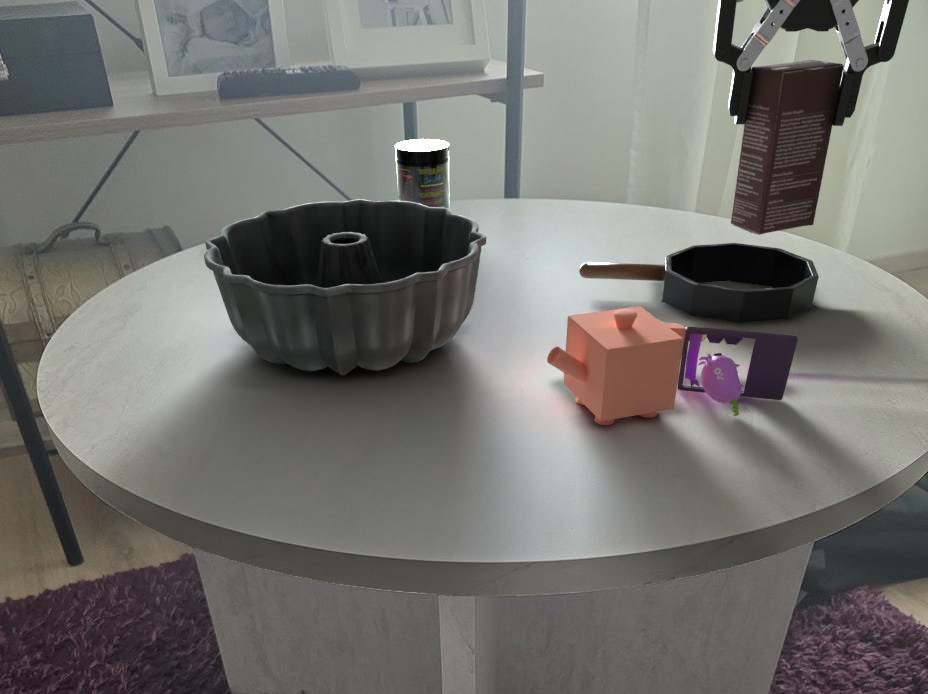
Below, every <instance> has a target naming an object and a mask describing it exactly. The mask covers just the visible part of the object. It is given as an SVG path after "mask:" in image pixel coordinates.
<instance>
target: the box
mask: <svg viewBox="0 0 928 694" xmlns="http://www.w3.org/2000/svg"><path fill="white" fill-rule="evenodd" d="M751 69H752V72H753V76H752V82H751V88H750V94H749V100H748V106H747V113H746V119H745V123H744V124H743V131H742V139H741V144H740V145H741V146H740V152H739V158H738V159H739V160H738V165H737V174H736V182H735V189H734V196H733V203H732V210H731V217H730V218H731V219H730V224H731V225H732V226H734V227H737V228H739V229H741V230H743V231H746V232H748V233H750V234H754V235H758V236H761V235H764V234H769V233H773V232H780V231H784V230H790V229H795V228H801V227H807V226H813V225H814V222H815V217H816V212H817V206H818V202H819V197H820V192H821V188H822V187H821V186H822V180H823V177H824V171H825V165H826V160H827V155H828V150H829V145H830V141H831V135H832V129H833V125H832V123H833V118H834V113H835V108H836V104H837V98H838V93H839V88H840V83H841V78H842V73H843V69H845V65H844V64H843V63H840V62H839V63H838V62H832V61H831V62H830V61H824V60H816V59H805V60H798V61H792V62H784V63H783V62H782V63H775V64H767V65H760V66H751Z"/></svg>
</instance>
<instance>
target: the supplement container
mask: <svg viewBox="0 0 928 694" xmlns="http://www.w3.org/2000/svg"><path fill="white" fill-rule="evenodd" d="M394 150H395V152H394V153H395V165H396V184H397V186H396V187H397V201H408V202H414V203H419V204H423V205H425V206H428V207H436V208H448V209H450V210H451V202H450V143H449V142H447V141H445V140H440V139H430V138H429V139H428V138H427V139H424V138H421V139H419V138H418V139H409V140H403V141H400V142H397V143H396V144H395V145H394Z"/></svg>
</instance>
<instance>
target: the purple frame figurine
mask: <svg viewBox="0 0 928 694" xmlns="http://www.w3.org/2000/svg"><path fill="white" fill-rule="evenodd" d="M685 328H686V334H685V339H684V345H683V351H682V356H681V362H680V368H679V375H678V382H677V390H679V391H685V392H693V393H694V392H696V393H703V394H704V393H705V394H706V395H707V396H708V397H709V398H710V399H711V400H713V401H714V402H717V403H721V404H730V408H732V409H731V412H732V413H733V415H732V416H733V417H738V416H739V414H740V411H739V406H738V405H739V404H738V402H737V400H738V399H739V398H740V397H745V398H756V399H766V400H775V401H781V400H783V398H784V394H785V392H786V391H785V390H786V387H787V383H788V379H789V375H790V372H791V368H792V365H793V361H794V357H795V353H796V349H797V345H798V342H799V336H798V335H796V334H784V333H772V332H762V331H761V332H759V331H749V330H738V329H724V328H714V327H713V328H712V327H702V326H701V327H700V326H690V325H688V326H686V327H685ZM706 338H707V340H708V343H709V344H718V345H719V344H720V343H721V342H723V340H724V341H725V343H726V345H729V346H730V345H732V346H737V345H739V343H741V341H743V339H751V340H754V343H753V348H752V352H751V357H750V361H749V365H748V370H747V375H746V379H745V383H744V384H743V383H741V381H740V378H739V371H738V367H740V365H741V364H739V363H736V362H735V361H734V360H733V359H732V358H731V357H729V356H728V355H724V354H723V353H722V352H721V353H720V352H718V353H714V354H713V356H711V353H707V354H706V355H707V356H701V357H699V353H700V350H701V349H700V348H701V345H702V342H703V341H705V340H706ZM699 361H700V362H699ZM698 362H699V363H698ZM702 365H703V367H702V370H701V372H700V382H699V379H697V378H696V377H697V370H698V369H697V368H698V366H702ZM684 378H685V379H687V380H689V382H690V385H687V384H685V385H684ZM700 384H701V386H700ZM694 385H696V386H694ZM742 388H744V390H742Z"/></svg>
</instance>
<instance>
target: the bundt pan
mask: <svg viewBox="0 0 928 694" xmlns="http://www.w3.org/2000/svg"><path fill="white" fill-rule="evenodd" d="M479 229H480V227H479V223H477V222H476V220H474V219H472V218H470V217H467V216H465V215H460V214H455V213H453V212H452V211H451V208H450V209H448V208H436V207H428V206H425V205H423V204H419V203H414V202H408V201H398V200H377V201H376V200H375V201H374V200H369V199H363V198H356V199H353V200H352V199H351V200H346V201H318V202H317V201H315V202H308V203H303V204H298V205H293V206H290V207H287V208H284V209H274V210H272V209H271V210H265V211H263V212H261V213H259V214H258V215H257V216H254V217H250V218H249V217H248V218H245V219H241V220H238V221H237V220H236V221H235V222H232V223H230V224H228V225H226V226H224V227H223V228H222V229H221V230H220V232H219V234H218V235H217V236H215V237H212V238H209V239H207V240H205V242H204V243H205V247H206V251H205V252H204V255H203V259H204V264H205V267H207V268H208V269H209V270H210V271H212V273H213V276H214V279H215V281H216V284H217V287H218V290H219V293H220V297H221V299H222V301H223V305H224V307H225V310H226V313H227V315H228V319H229V321H230V323H231V326H232V327H233V329H234V331H235V333H236V334H237V335H238V336H239V337H240V338H241V339H242V340H243V341H244V342H245V343H246V344H248V345H249V346H251V348H252V349H253V350H254V352H255V353H256V354H257V355H258V356H259V357H260V358H262V359H263V360H265V361H267V362H268V363H272V364H276V365H289V366H291V367H292V368H293V369H294V368H295V369H297V370H299V371H305V372H316V371H321V370H325V369H326V368H329V369H331V370H332V371H334V372H335V373H337V374H338V375H340V376H346V375H348V374H349V373H350V372H351V371H352V370H354V369H355V368H357V367H360V368H362V369H364V370H367V371H368V370H369V371H383V370H387V369H390V368H391V367H394V366H395V365H397V364H398V363H399V362H400V361H401V362H405V363H407V364H414V363H418V362H420V361H423V360H424V359H425V358H426V357H428V355H429V354H430V352H431V351H433V350H436V349H439V348H441V347H443V346H445V345H446V344H447V343H448V342H450V341H451V340H452V339H453V338H455V336H456V334H457V333H458V332H459V330H460V329H461V326H462V324H464V322H465V321H466V320H467V318H468V316H469V314H470V312H471V310H472V308H473V305H474V301H475V295H476V289H477V288H476V287H477V282H478V274H479V268H480V261H481V252H482V247H483V246H485V245H486V244H487V235H485V234H482V233H480V232H479Z"/></svg>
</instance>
